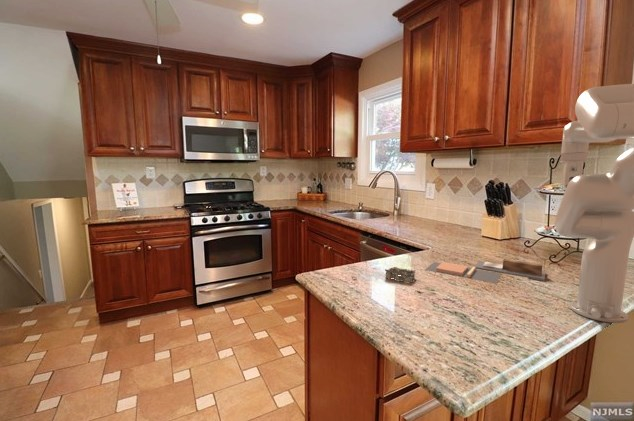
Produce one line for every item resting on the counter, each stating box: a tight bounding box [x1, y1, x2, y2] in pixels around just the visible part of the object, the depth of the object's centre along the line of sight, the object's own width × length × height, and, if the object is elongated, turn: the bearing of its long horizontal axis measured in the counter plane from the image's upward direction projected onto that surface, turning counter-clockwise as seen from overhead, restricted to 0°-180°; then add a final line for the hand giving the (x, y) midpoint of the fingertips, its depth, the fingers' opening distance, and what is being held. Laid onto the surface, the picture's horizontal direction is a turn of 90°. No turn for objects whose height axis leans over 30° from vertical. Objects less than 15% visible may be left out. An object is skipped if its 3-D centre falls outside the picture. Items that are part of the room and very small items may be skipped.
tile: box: [436, 261, 469, 276], centre depth 127 cm, size 10×1×10 cm
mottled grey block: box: [384, 266, 417, 283], centre depth 120 cm, size 11×8×4 cm
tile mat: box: [424, 261, 502, 284], centre depth 125 cm, size 13×26×2 cm, turn 52°
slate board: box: [473, 260, 546, 282], centre depth 126 cm, size 10×24×1 cm, turn 52°
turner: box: [483, 258, 544, 275], centre depth 126 cm, size 20×6×4 cm, turn 52°
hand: (568, 204), depth 115 cm, fingers open, 9 cm apart
